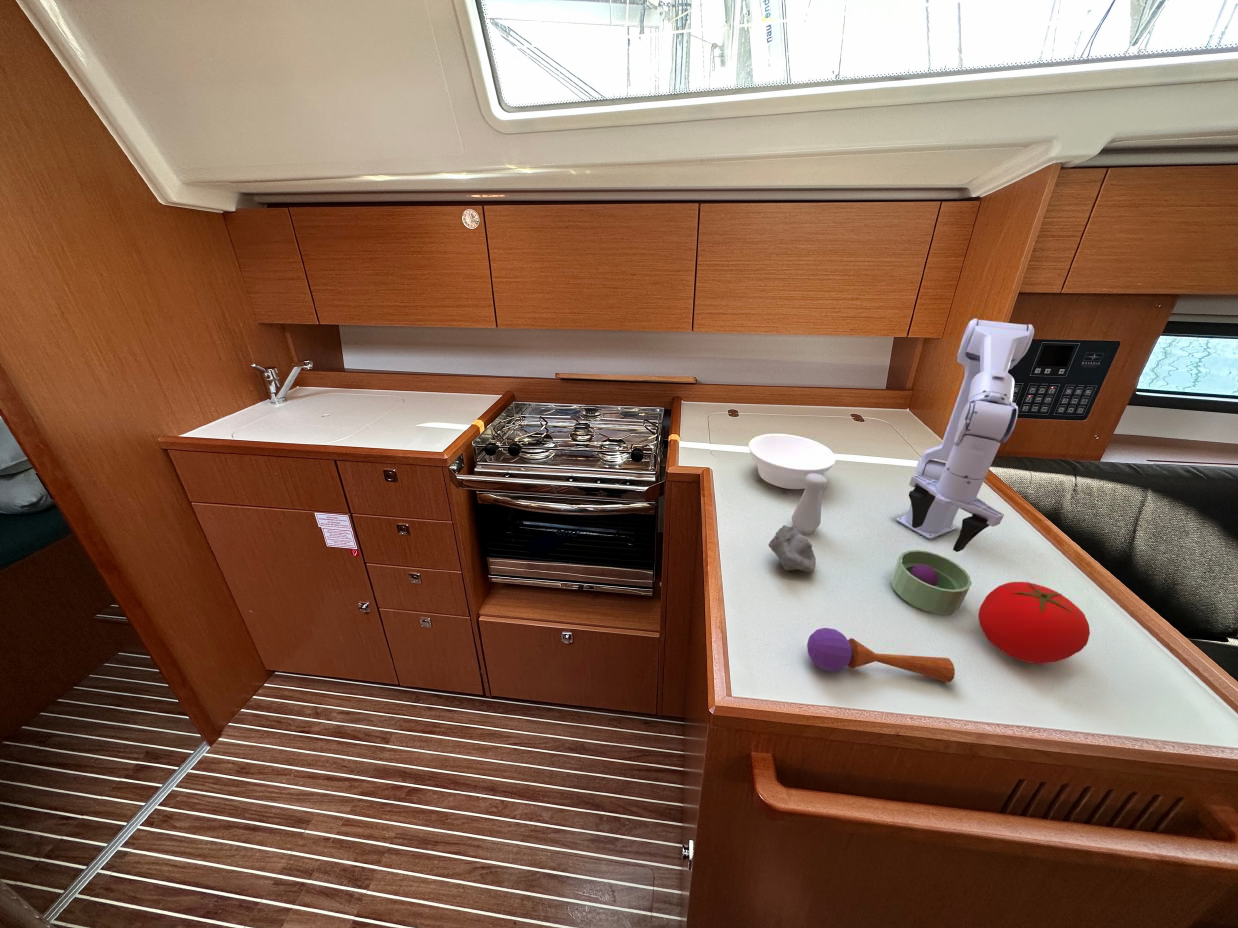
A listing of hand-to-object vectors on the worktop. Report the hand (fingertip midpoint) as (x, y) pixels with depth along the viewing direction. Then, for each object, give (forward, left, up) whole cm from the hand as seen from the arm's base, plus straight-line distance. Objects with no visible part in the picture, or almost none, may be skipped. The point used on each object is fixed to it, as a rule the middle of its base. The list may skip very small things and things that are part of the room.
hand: (936, 537), depth 85 cm
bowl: (-4, -40, -10) cm, 41 cm away
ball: (+3, +2, -7) cm, 8 cm away
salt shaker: (+9, -21, -10) cm, 24 cm away
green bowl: (+4, +3, -9) cm, 10 cm away
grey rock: (+21, -13, -10) cm, 26 cm away
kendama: (+27, +10, -10) cm, 30 cm away
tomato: (+2, +17, -10) cm, 20 cm away
